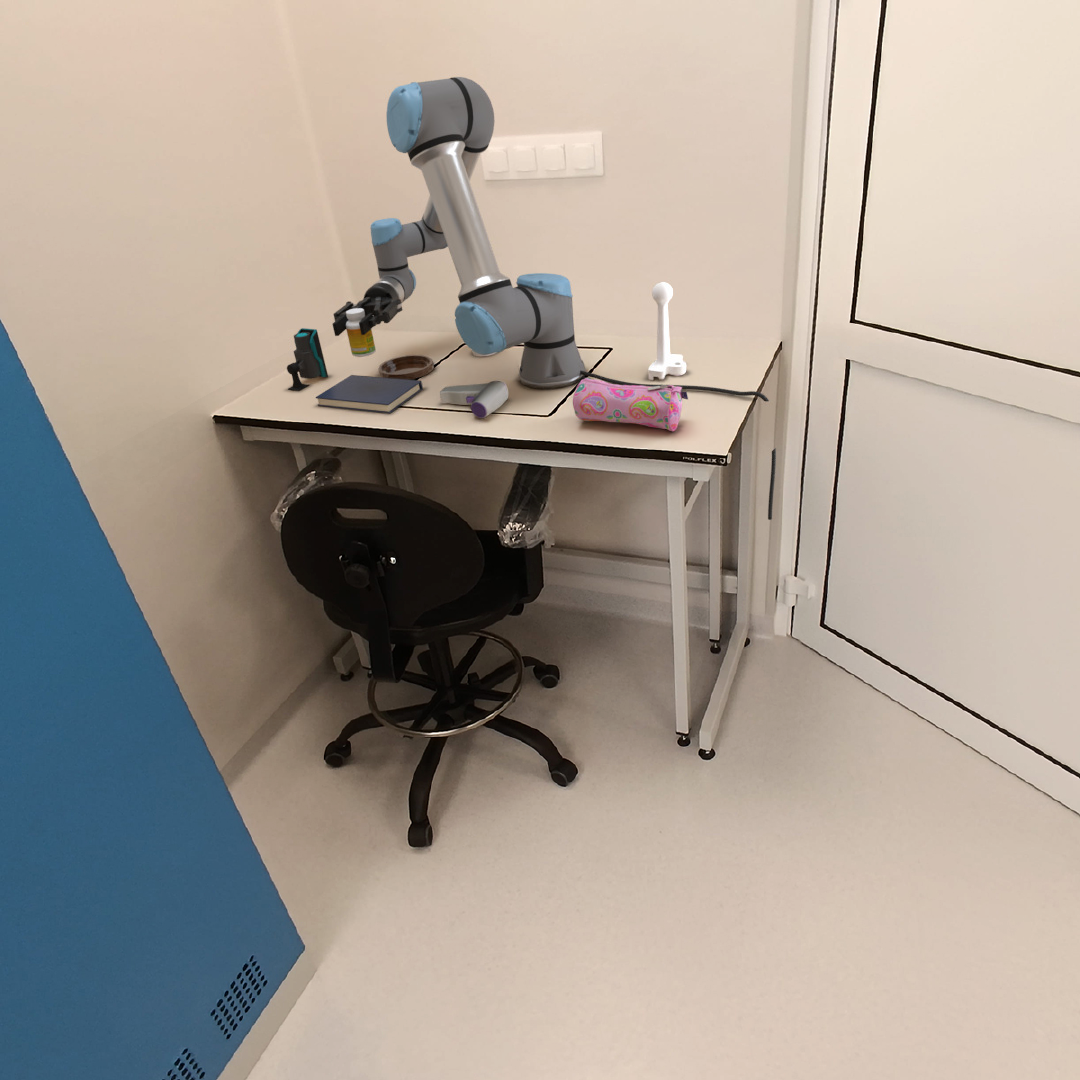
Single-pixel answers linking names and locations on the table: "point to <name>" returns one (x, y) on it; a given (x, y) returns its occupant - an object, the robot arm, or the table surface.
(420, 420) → the table surface
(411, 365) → the brown round tray
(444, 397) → the infrared thermometer
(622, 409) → the pencil case
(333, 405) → the book
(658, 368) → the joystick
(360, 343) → the supplement bottle
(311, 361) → the surveillance camera
